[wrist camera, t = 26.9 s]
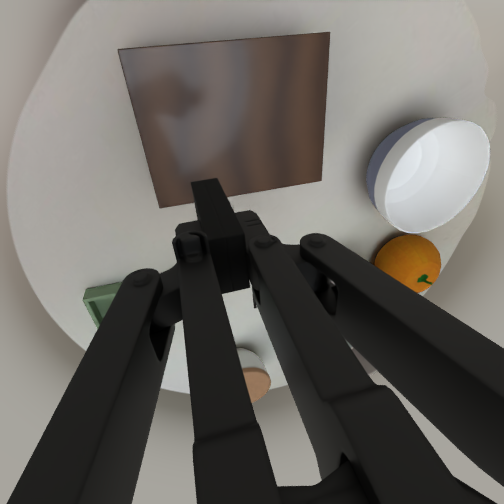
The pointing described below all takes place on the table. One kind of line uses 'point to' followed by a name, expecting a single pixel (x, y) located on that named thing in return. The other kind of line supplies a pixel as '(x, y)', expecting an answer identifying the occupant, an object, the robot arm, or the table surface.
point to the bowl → (427, 172)
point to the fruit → (410, 261)
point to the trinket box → (254, 374)
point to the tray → (100, 300)
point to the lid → (230, 112)
